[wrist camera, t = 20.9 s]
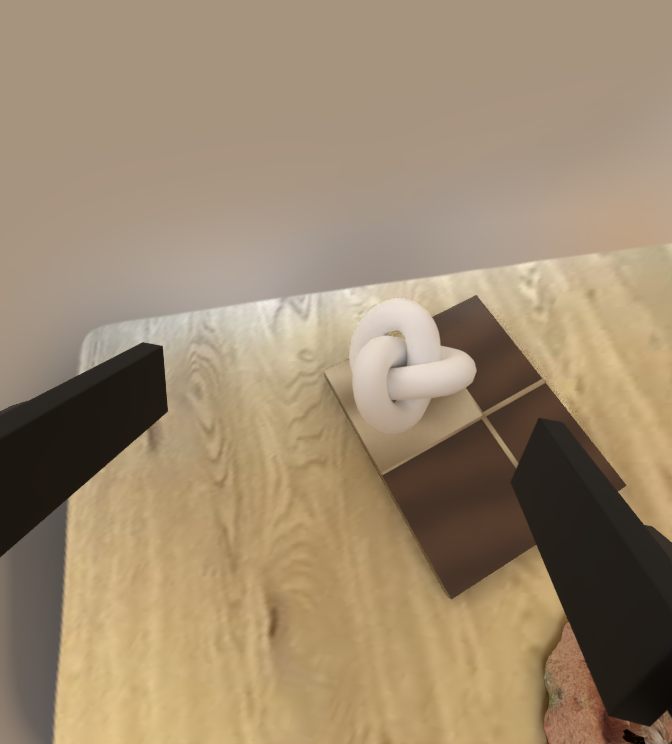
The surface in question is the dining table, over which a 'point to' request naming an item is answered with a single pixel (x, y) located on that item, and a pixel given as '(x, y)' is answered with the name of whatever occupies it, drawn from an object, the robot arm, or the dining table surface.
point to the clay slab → (586, 704)
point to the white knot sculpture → (402, 365)
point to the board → (466, 452)
